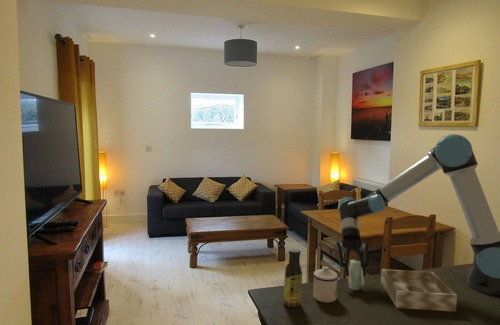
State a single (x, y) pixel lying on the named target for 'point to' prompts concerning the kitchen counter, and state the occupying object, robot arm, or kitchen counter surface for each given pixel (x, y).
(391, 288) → the box
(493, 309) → the kitchen counter surface
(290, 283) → the sauce bottle
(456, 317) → the kitchen counter surface
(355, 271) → the peg
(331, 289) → the teacup with lid
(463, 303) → the kitchen counter surface
